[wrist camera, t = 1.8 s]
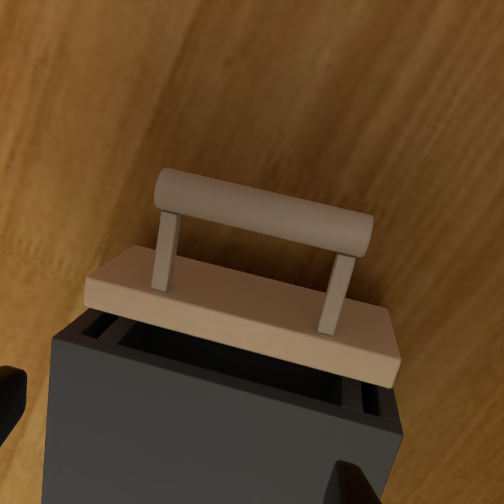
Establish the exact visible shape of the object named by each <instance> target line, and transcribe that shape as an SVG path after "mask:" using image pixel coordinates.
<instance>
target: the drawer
mask: <svg viewBox="0 0 504 504" xmlns="http://www.w3.org/2000/svg"><path fill="white" fill-rule="evenodd" d="M154 204H155V206H156V207H157V208H159V209H162V210H163V211H162V212H161V217H160V225H159V232H158V239H157V246H156V250H154V249H150V248H146V247H142V246H138V245H132V246H131V247H130V248H128V249H127V250H125V251H124V252H122V253H121V254H119V255H118V256H116V257H115V258H113V259H112V260H110V261H109V262H107V263H106V264H104V265H103V266H101V267H100V268H98V269H97V270H95V271H94V272H92V273H91V274H89V275H88V276H87V277H86V279H85V290H84V301H83V305H84V306H85V307H89V308H92V309H96V310H100V311H103V312H107V313H111V314H115V315H118V316H120V317H119V318H118V319H117V320H116V321H115V322H114V323H113V324H112V325H111V326H109V327H108V328H107V329H106V330H105V331H104V332H103V333H102V334H101V335H100V336H99V337H98V338H97V339H99V340H103V341H107V342H110V343H114V344H117V345H121V346H125V347H128V348H132V349H136V350H139V351H143V352H146V353H150V354H154V355H157V356H161V357H165V358H168V359H172V360H175V361H179V362H183V363H186V364H190V365H194V366H197V367H201V368H204V369H208V370H212V371H215V372H219V373H222V374H226V375H230V376H233V377H237V378H241V379H244V380H248V381H251V382H255V383H259V384H262V385H266V386H270V387H273V388H277V389H280V390H284V391H288V392H291V393H295V394H299V395H302V396H306V397H309V398H313V399H317V400H320V401H324V402H328V403H331V404H335V405H338V406H342V407H346V408H349V409H353V410H357V411H360V412H363V402H362V392H361V381H363V382H367V383H371V384H374V385H378V386H382V387H386V388H392V386H393V383H394V381H395V378H396V375H397V372H398V369H399V366H400V364H401V356H400V353H399V349H398V345H397V341H396V338H395V334H394V330H393V326H392V322H391V319H390V315H389V311H388V309H387V308H384V307H380V306H376V305H372V304H368V303H364V302H360V301H356V300H352V299H348V298H345V295H346V292H347V289H348V285H349V282H350V278H351V275H352V271H353V268H354V265H355V261H356V257H363V256H364V255H365V253H366V251H367V248H368V245H369V242H370V239H371V235H372V230H373V224H374V218H373V216H372V215H369V214H365V213H361V212H357V211H352V210H348V209H344V208H339V207H335V206H331V205H326V204H322V203H318V202H314V201H309V200H305V199H301V198H296V197H292V196H288V195H283V194H279V193H275V192H271V191H266V190H262V189H258V188H253V187H249V186H245V185H241V184H236V183H232V182H228V181H223V180H219V179H215V178H210V177H206V176H202V175H198V174H193V173H189V172H185V171H180V170H176V169H172V168H163V169H162V170H161V172H160V174H159V176H158V178H157V181H156V184H155V189H154ZM182 214H183V215H187V216H191V217H195V218H200V219H204V220H208V221H212V222H216V223H220V224H224V225H228V226H232V227H237V228H241V229H245V230H249V231H253V232H257V233H261V234H265V235H270V236H274V237H278V238H282V239H286V240H290V241H294V242H298V243H303V244H307V245H311V246H315V247H319V248H323V249H327V250H331V251H336V252H337V254H336V258H335V262H334V265H333V269H332V273H331V276H330V280H329V283H328V287H327V291H326V293H324V292H320V291H316V290H312V289H308V288H304V287H300V286H296V285H292V284H288V283H284V282H280V281H277V280H273V279H269V278H265V277H261V276H257V275H253V274H249V273H245V272H241V271H237V270H233V269H229V268H225V267H221V266H217V265H213V264H209V263H205V262H201V261H197V260H193V259H189V258H185V257H181V256H177V255H176V252H177V245H178V239H179V232H180V226H181V219H182ZM355 256H356V257H355Z"/></svg>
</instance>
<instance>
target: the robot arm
mask: <svg viewBox="0 0 504 504" xmlns="http://www.w3.org/2000/svg"><path fill="white" fill-rule="evenodd" d="M26 391H27V374H26V372H25V371H24V370H22V369H19V368H15V367H12V366H7V365H5V366H1V367H0V447H1V445H2V444H3V442H4V441H5V440H6V438H7V437H8V435H9V434H10V432H11V431H12V430H13V428H14V427H15V425H16V424H17V423H18V421H19V420H20V418H21V417H22V415H23V413H24V410H25V406H26ZM323 504H382V503H381V502H380V500H379V498H378V496H377V495H376V493H375V491H374V490H373V488H372V486H371V485H370V483H369V481H368V480H367V478H366V476H365V475H364V473H363V471H362V470H361V468H360V467H359V466H358V465H356V464H354V463H350V462H347V461H343V460H337V461H336V462H335V464H334V467H333V470H332V473H331V476H330V479H329V482H328V485H327V488H326V491H325V495H324V500H323Z"/></svg>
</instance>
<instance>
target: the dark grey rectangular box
mask: <svg viewBox="0 0 504 504" xmlns="http://www.w3.org/2000/svg"><path fill="white" fill-rule="evenodd" d="M119 317H120V316H118V315H115V314H111V313H107V312H103V311H100V310H96V309H92V308H89V309H88V310H86V311H85V312H84V313H83V314H81V315H80V316H79V317H78V318H76V319H75V320H74V321H73V322H72V323H70V324H69V325H68V326H67V327H65V328H64V330H61V331H60V332H59V333H57V334H56V335H55V336H54V337H53V338H52V346H51V361H50V377H49V392H48V407H47V423H46V438H45V454H44V469H43V484H42V500H41V504H323V500H324V495H325V491H326V488H327V485H328V482H329V479H330V476H331V473H332V470H333V467H334V464H335V462H336V461H337V460H343V461H347V462H350V463H354V464H356V465H358V466H359V467H360V468H361V470H362V471H363V473H364V475H365V476H366V478H367V480H368V481H369V483H370V485H371V486H372V488H373V490H374V491H375V493H376V495H377V496H378V498H379V500H380V497H381V495H382V492H383V489H384V487H385V484H386V481H387V479H388V476H389V473H390V471H391V468H392V465H393V463H394V460H395V458H396V455H397V452H398V450H399V447H400V444H401V442H402V439H403V431H402V426H401V423H400V418H399V413H398V408H397V404H396V399H395V394H394V389H393V386H392V388H386V387H382V386H378V385H374V384H371V383H367V382H363V381H361V392H362V402H363V412H360V411H357V410H353V409H349V408H346V407H342V406H338V405H335V404H331V403H328V402H324V401H320V400H317V399H313V398H309V397H306V396H302V395H299V394H295V393H291V392H288V391H284V390H280V389H277V388H273V387H270V386H266V385H262V384H259V383H255V382H251V381H248V380H244V379H241V378H237V377H233V376H230V375H226V374H222V373H219V372H215V371H212V370H208V369H204V368H201V367H197V366H194V365H190V364H186V363H183V362H179V361H175V360H172V359H168V358H165V357H161V356H157V355H154V354H150V353H146V352H143V351H139V350H136V349H132V348H128V347H125V346H121V345H117V344H114V343H110V342H107V341H103V340H99V339H97V338H98V337H99V336H100V335H101V334H102V333H103V332H104V331H105V330H106V329H107V328H108V327H109V326H111V325H112V324H113V323H114V322H115V321H116V320H117V319H118V318H119Z"/></svg>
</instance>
